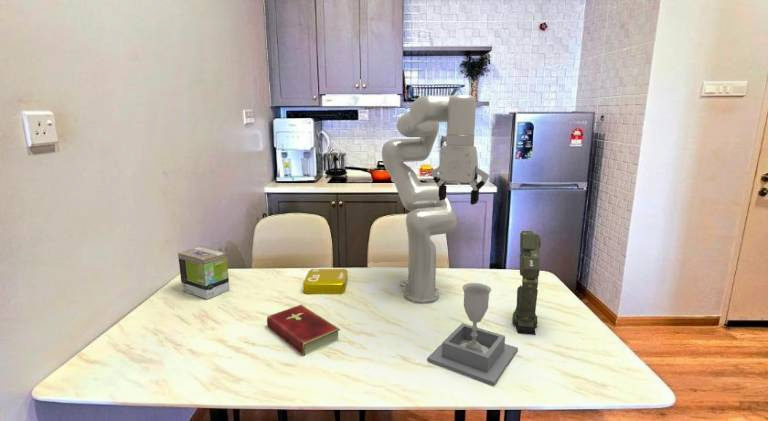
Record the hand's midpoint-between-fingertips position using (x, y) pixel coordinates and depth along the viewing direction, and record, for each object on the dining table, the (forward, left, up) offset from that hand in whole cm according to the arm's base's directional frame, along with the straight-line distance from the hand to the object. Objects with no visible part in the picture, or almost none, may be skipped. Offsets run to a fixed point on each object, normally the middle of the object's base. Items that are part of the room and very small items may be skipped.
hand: (457, 201), depth 119 cm
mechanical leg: (+18, +12, -38) cm, 44 cm away
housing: (+12, -13, -38) cm, 42 cm away
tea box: (-85, -28, -39) cm, 98 cm away
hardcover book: (-34, -30, -39) cm, 60 cm away
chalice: (+12, -13, -37) cm, 41 cm away
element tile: (-52, 0, -39) cm, 65 cm away
